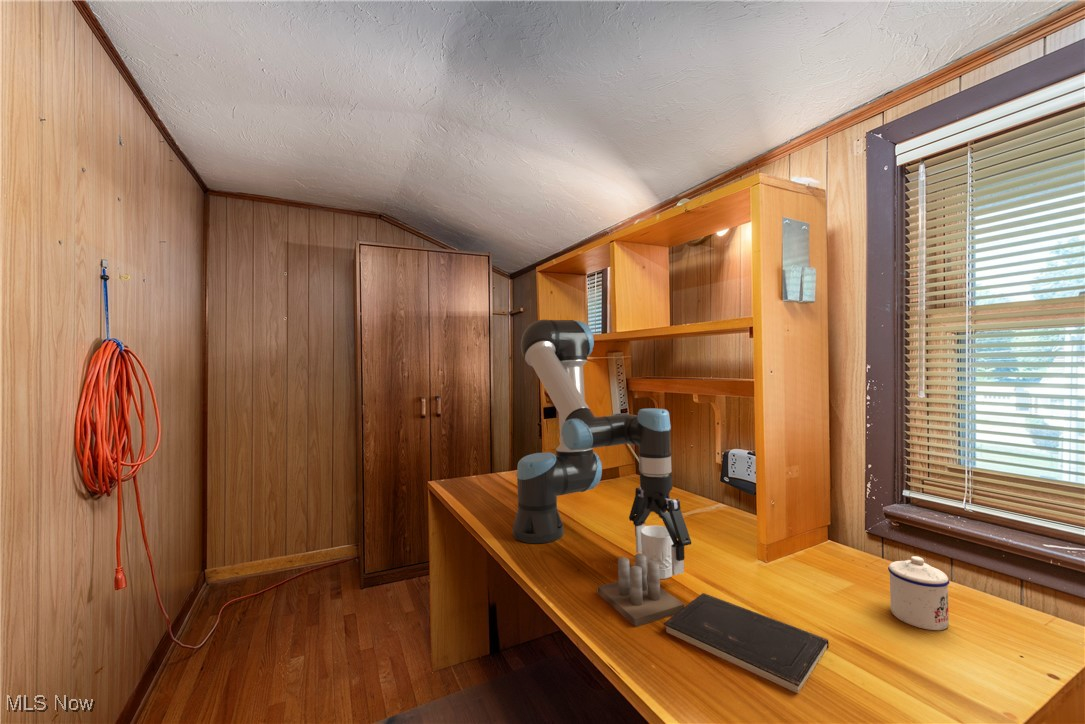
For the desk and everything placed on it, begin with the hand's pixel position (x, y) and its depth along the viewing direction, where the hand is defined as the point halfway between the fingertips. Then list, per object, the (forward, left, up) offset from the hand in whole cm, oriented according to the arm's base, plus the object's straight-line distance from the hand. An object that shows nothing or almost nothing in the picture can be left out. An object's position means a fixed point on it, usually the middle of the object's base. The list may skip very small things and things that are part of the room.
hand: (658, 562), depth 108 cm
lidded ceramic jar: (+37, +34, -3) cm, 50 cm away
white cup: (0, 0, -3) cm, 3 cm away
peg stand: (+9, -12, -3) cm, 15 cm away
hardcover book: (+27, -3, -4) cm, 28 cm away
